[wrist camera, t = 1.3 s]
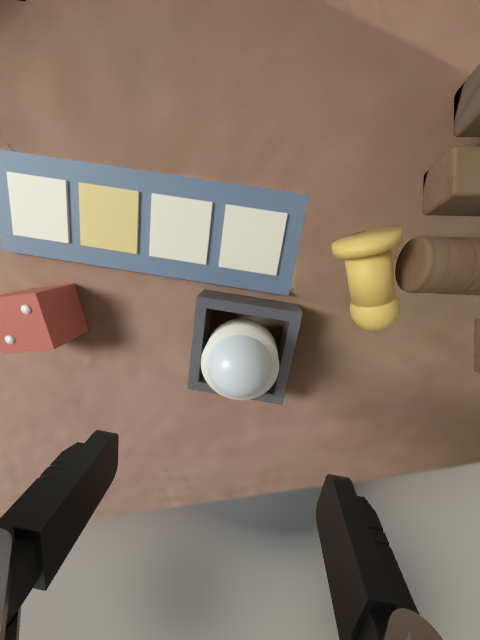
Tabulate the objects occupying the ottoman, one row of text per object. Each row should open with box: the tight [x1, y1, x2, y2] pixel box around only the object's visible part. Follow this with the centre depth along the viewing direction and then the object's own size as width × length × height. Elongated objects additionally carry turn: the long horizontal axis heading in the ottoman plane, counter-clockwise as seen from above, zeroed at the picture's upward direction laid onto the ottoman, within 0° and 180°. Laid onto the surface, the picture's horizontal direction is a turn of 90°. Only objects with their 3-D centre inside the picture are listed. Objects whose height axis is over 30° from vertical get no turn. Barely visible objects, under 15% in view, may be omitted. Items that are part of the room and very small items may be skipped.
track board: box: [0, 150, 309, 296], centre depth 21 cm, size 24×8×1 cm, turn 82°
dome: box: [201, 319, 279, 400], centre depth 19 cm, size 6×6×5 cm
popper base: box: [188, 290, 303, 405], centre depth 22 cm, size 8×8×3 cm
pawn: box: [332, 227, 403, 331], centre depth 20 cm, size 4×4×7 cm
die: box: [0, 284, 89, 354], centre depth 22 cm, size 4×4×4 cm
